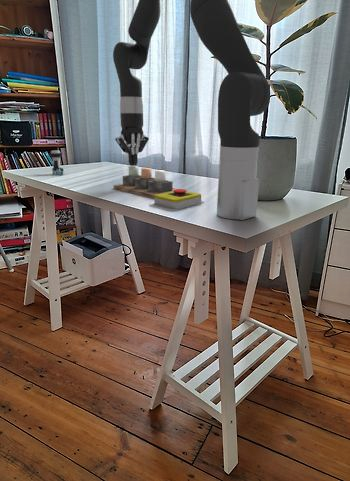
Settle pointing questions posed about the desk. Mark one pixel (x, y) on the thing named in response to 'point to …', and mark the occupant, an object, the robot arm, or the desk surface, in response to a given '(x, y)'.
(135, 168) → the sage key
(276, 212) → the desk surface
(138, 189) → the brown wooden flat board
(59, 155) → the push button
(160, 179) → the ivory key
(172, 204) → the emergency button
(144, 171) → the peach small block
